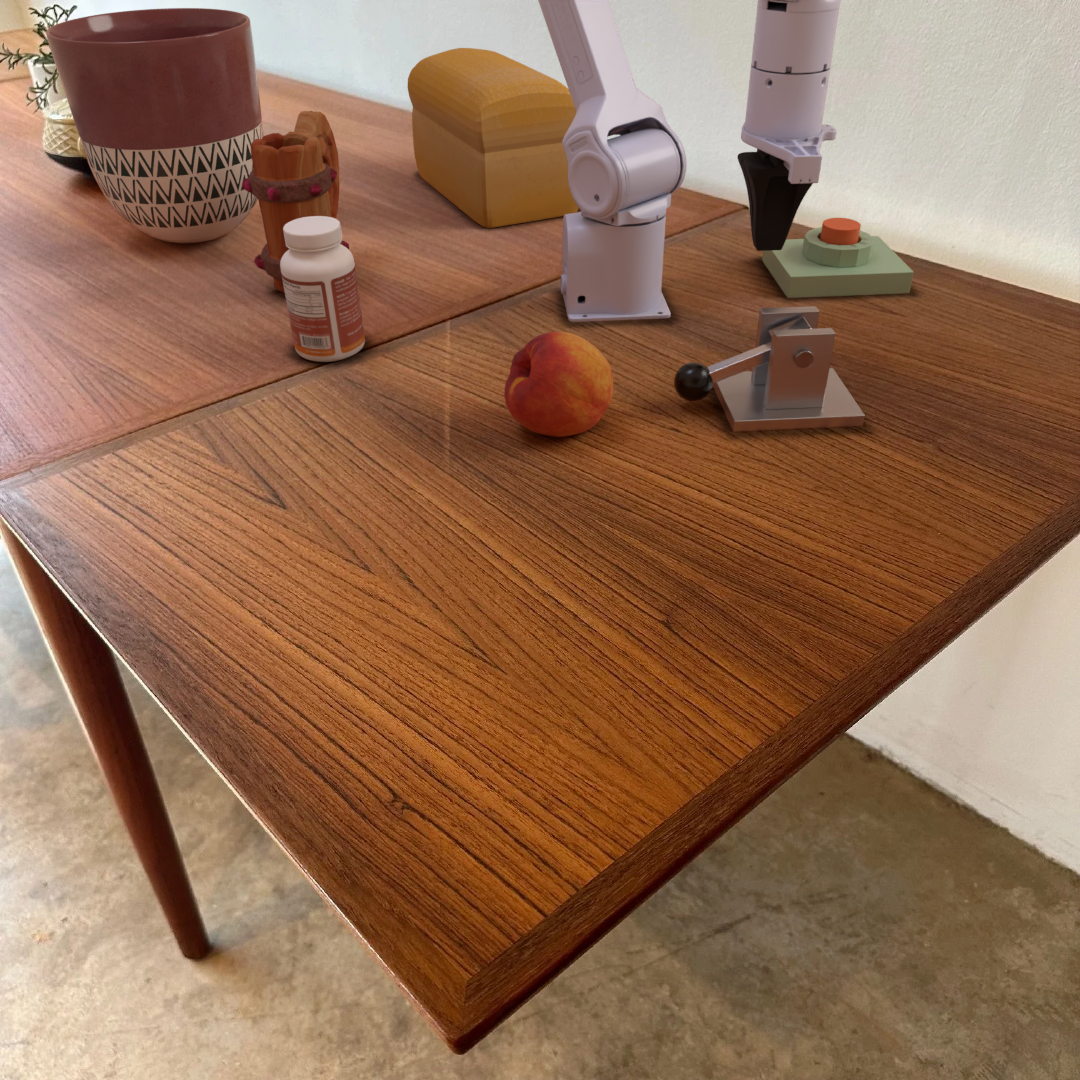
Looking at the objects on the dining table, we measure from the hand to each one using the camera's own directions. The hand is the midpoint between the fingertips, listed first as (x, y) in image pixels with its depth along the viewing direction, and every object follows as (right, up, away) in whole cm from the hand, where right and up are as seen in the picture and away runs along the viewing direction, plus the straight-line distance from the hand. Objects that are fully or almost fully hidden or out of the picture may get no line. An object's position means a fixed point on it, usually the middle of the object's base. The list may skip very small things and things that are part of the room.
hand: (767, 247), depth 82 cm
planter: (-57, +10, +31) cm, 66 cm away
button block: (+11, +3, +19) cm, 22 cm away
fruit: (-17, -16, -5) cm, 23 cm away
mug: (-41, +3, +21) cm, 46 cm away
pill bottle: (-37, -7, +7) cm, 38 cm away
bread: (-24, +19, +43) cm, 53 cm away
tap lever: (-2, -11, -4) cm, 12 cm away
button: (+11, +6, +17) cm, 21 cm away
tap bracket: (+1, -13, -2) cm, 13 cm away
